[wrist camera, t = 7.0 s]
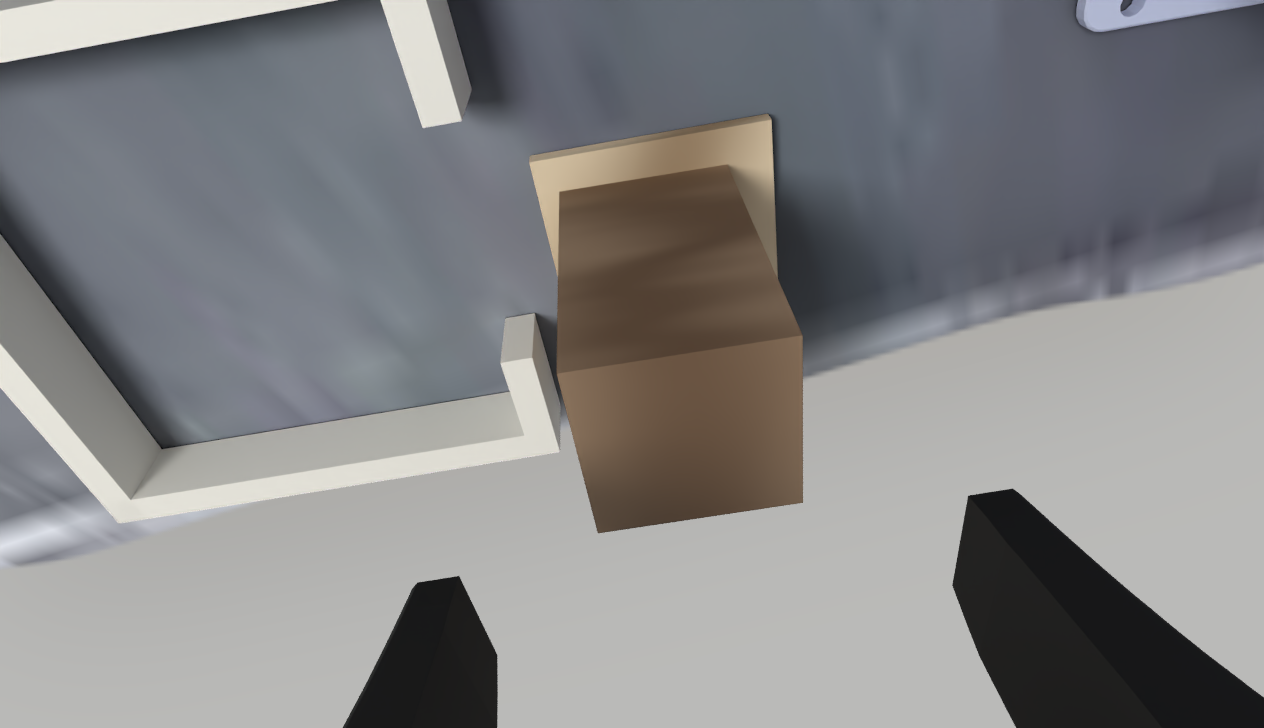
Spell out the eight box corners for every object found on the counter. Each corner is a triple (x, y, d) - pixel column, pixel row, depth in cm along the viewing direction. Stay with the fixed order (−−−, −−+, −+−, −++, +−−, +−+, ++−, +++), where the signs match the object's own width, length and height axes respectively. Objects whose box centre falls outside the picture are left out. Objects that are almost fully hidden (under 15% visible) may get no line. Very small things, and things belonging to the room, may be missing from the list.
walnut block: (727, 164, 18) (802, 335, 12) (736, 305, 20) (802, 502, 14) (559, 191, 18) (556, 373, 12) (588, 329, 20) (598, 533, 15)
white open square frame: (423, -82, 14) (406, -67, 13) (560, 404, 22) (560, 452, 21) (-192, 36, 15) (-282, 64, 13) (150, 472, 23) (118, 523, 21)
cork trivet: (767, 113, 17) (771, 119, 17) (776, 312, 21) (779, 320, 20) (530, 155, 17) (529, 162, 17) (577, 346, 21) (577, 354, 21)
